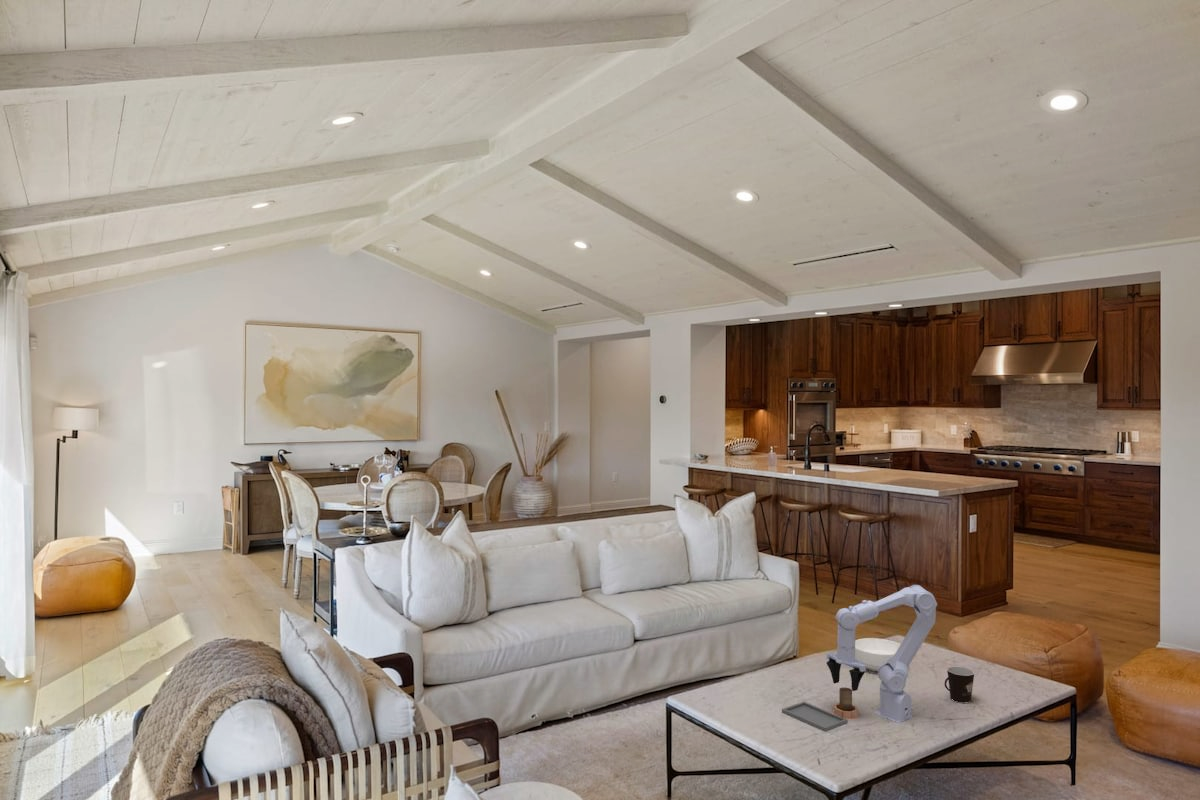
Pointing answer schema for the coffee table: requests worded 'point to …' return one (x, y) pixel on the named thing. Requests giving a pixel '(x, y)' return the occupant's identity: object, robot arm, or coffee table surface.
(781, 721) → the coffee table surface
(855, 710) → the terracotta cup
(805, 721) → the charcoal tray
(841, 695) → the walnut peg
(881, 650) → the bowl
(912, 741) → the coffee table surface
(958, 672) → the coffee mug
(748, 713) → the coffee table surface
